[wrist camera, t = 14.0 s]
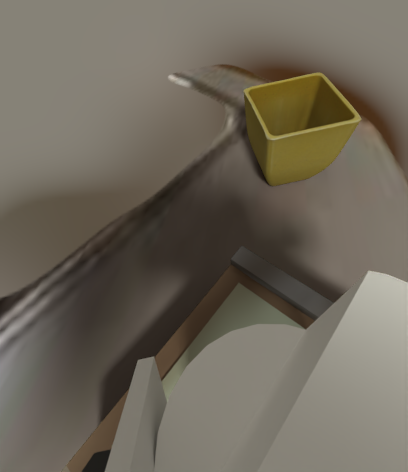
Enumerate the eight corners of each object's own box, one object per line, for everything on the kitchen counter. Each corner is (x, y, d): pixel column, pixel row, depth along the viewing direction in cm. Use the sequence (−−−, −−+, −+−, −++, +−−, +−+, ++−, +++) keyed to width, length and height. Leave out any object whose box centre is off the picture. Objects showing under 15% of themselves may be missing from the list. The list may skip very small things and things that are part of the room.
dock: (97, 457, 19) (47, 480, 14) (240, 274, 26) (241, 245, 21) (286, 730, 13) (319, 952, 8) (415, 394, 19) (480, 394, 14)
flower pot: (332, 187, 30) (364, 118, 23) (261, 203, 30) (268, 139, 23) (303, 141, 35) (321, 70, 27) (241, 154, 35) (242, 88, 27)
